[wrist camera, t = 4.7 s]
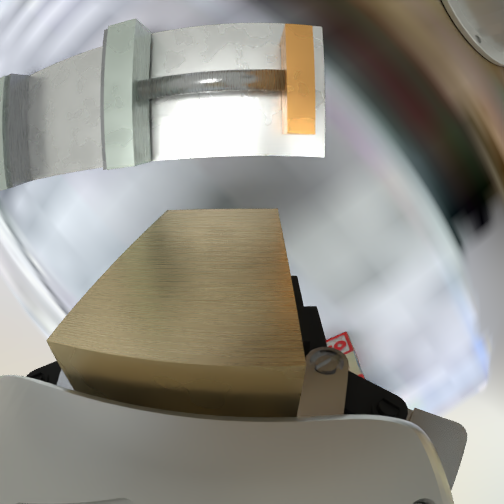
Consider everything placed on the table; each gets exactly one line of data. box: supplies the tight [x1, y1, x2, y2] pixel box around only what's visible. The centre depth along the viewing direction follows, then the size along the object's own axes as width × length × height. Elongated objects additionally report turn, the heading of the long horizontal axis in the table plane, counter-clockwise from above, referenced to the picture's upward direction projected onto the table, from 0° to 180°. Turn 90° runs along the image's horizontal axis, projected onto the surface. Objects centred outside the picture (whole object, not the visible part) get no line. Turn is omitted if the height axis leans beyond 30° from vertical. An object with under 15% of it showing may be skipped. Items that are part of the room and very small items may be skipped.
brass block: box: [47, 209, 306, 417], centre depth 10 cm, size 5×7×9 cm
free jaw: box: [100, 19, 315, 170], centre depth 15 cm, size 13×10×3 cm
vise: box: [0, 23, 325, 191], centre depth 16 cm, size 27×10×4 cm, turn 91°
